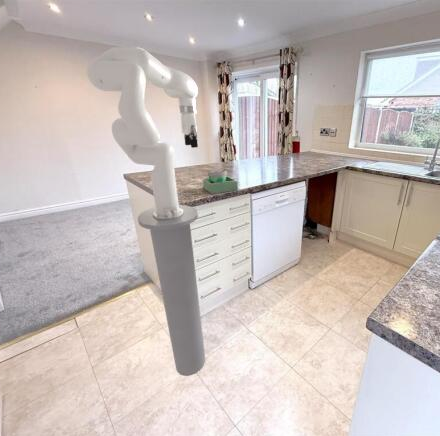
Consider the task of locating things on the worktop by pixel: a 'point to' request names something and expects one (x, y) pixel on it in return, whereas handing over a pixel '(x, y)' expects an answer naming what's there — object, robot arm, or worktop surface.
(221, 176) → the food container
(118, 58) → the robot arm
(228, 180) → the tub
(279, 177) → the worktop surface
